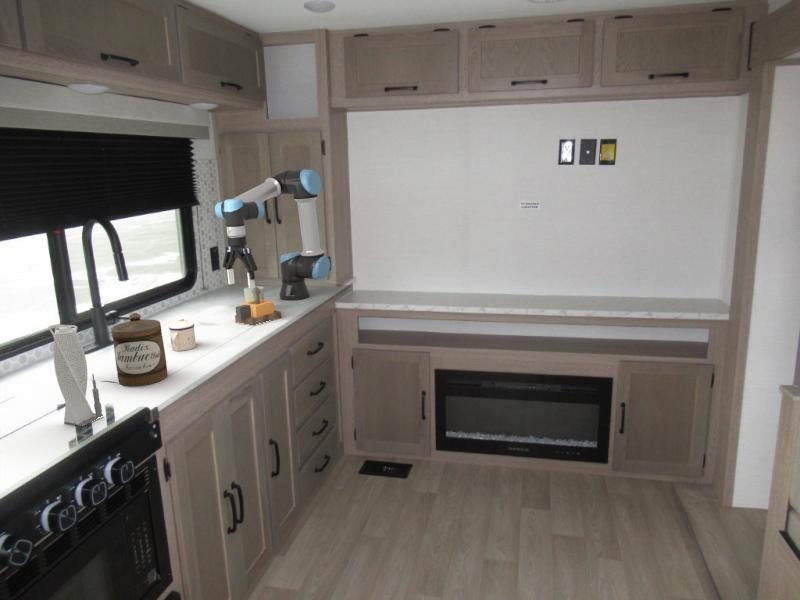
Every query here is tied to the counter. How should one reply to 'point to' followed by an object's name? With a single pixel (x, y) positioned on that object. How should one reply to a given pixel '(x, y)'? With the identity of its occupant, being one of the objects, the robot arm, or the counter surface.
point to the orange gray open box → (254, 309)
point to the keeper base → (260, 319)
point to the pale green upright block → (249, 294)
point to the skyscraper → (73, 376)
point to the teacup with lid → (182, 335)
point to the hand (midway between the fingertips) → (241, 285)
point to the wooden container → (139, 351)
